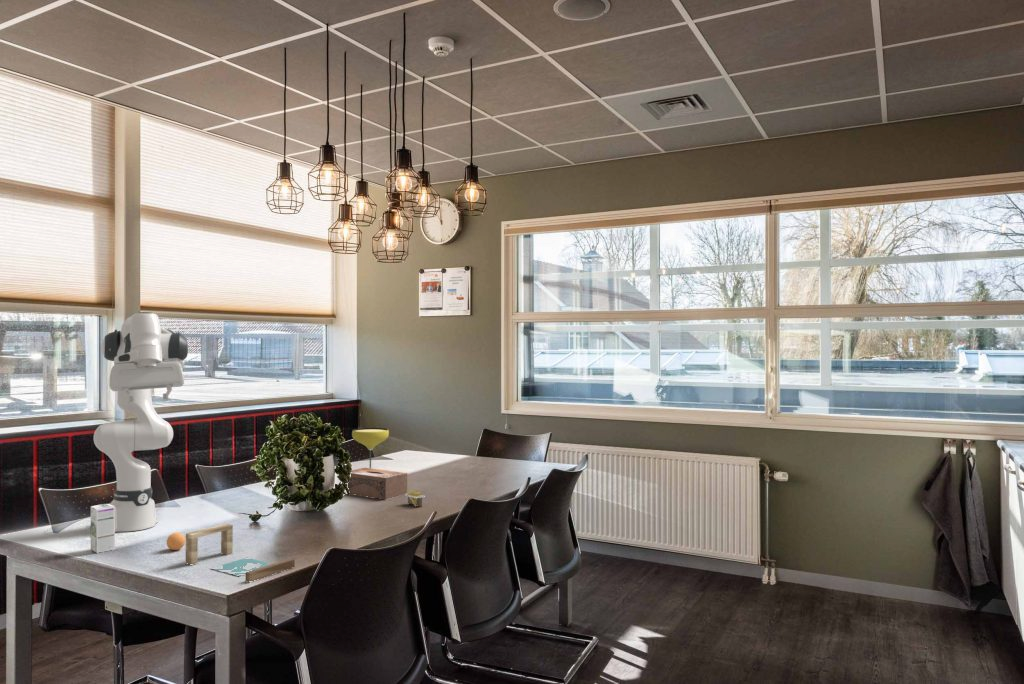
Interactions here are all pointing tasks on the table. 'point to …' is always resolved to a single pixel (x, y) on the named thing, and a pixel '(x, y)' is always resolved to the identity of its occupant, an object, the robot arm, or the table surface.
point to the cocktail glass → (370, 437)
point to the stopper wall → (270, 569)
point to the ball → (175, 541)
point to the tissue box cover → (377, 483)
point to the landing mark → (242, 563)
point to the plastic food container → (414, 497)
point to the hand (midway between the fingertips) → (148, 401)
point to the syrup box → (102, 528)
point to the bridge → (193, 536)
